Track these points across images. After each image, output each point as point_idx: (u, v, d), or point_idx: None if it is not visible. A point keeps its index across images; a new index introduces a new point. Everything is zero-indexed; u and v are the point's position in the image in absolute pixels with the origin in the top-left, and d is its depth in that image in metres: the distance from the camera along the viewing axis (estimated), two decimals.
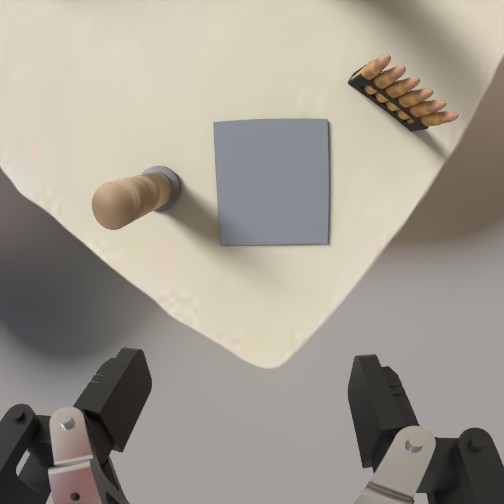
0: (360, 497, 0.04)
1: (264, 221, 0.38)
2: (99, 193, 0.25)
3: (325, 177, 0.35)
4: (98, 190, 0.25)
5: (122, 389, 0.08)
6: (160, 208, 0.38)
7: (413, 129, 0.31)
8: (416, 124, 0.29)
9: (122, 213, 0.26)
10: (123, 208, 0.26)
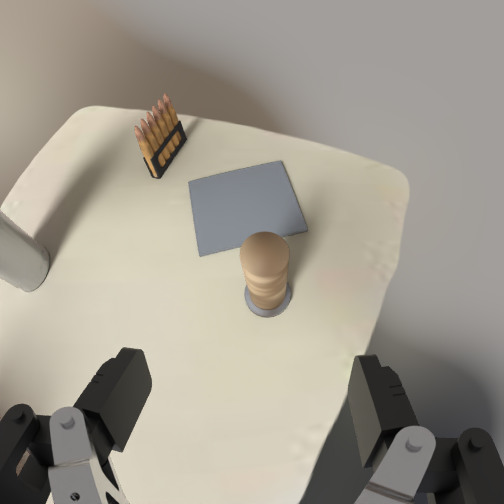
0: (360, 497, 0.04)
1: (276, 201, 0.45)
2: (253, 267, 0.27)
3: (231, 172, 0.48)
4: (250, 269, 0.27)
5: (122, 389, 0.08)
6: (286, 286, 0.39)
7: (184, 135, 0.53)
8: (179, 129, 0.50)
9: (269, 240, 0.28)
10: (264, 239, 0.28)
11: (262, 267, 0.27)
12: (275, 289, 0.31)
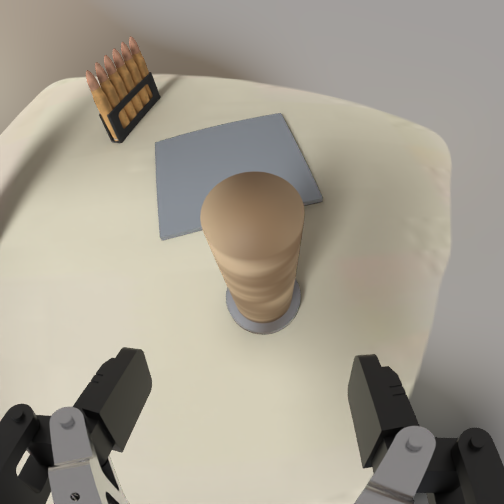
0: (360, 497, 0.04)
1: (275, 161, 0.30)
2: (226, 241, 0.12)
3: (213, 128, 0.34)
4: (220, 244, 0.12)
5: (122, 389, 0.08)
6: (293, 284, 0.24)
7: (157, 92, 0.38)
8: (150, 83, 0.36)
9: (262, 186, 0.14)
10: (251, 185, 0.14)
11: (247, 240, 0.12)
12: (275, 288, 0.16)
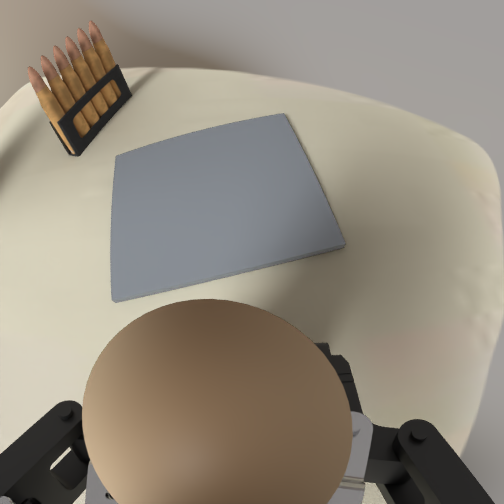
0: None
1: (276, 184, 0.21)
2: (144, 502, 0.03)
3: (191, 135, 0.25)
4: None
5: None
6: None
7: (127, 89, 0.29)
8: (116, 78, 0.27)
9: (235, 356, 0.04)
10: (204, 351, 0.04)
11: None
12: None
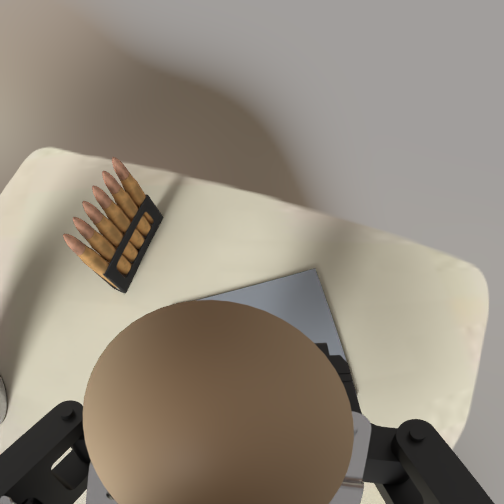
0: None
1: None
2: (145, 503, 0.03)
3: (235, 293, 0.30)
4: None
5: None
6: None
7: (158, 214, 0.35)
8: (148, 209, 0.32)
9: (236, 357, 0.04)
10: (205, 352, 0.04)
11: None
12: None
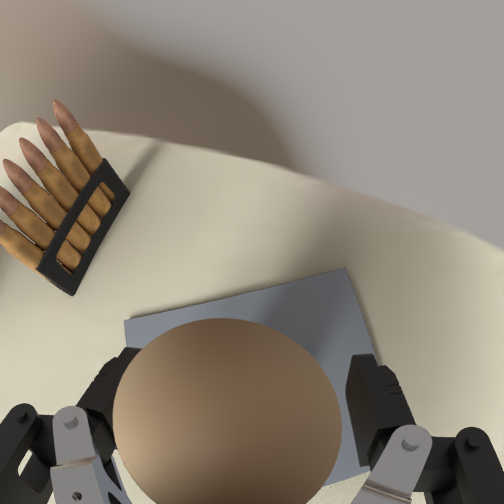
0: (357, 496, 0.04)
1: (338, 396, 0.16)
2: (168, 490, 0.04)
3: (224, 303, 0.19)
4: (156, 493, 0.04)
5: None
6: None
7: (122, 187, 0.24)
8: (106, 178, 0.21)
9: (245, 365, 0.05)
10: (220, 362, 0.05)
11: (210, 495, 0.04)
12: None
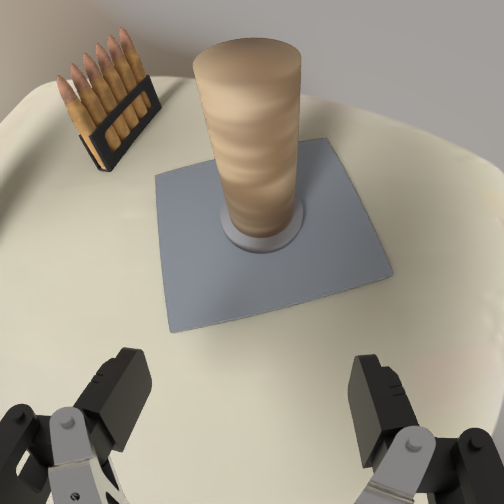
0: (360, 497, 0.04)
1: (328, 214, 0.22)
2: (219, 73, 0.10)
3: None
4: (211, 76, 0.10)
5: (122, 389, 0.08)
6: (294, 199, 0.21)
7: (157, 100, 0.30)
8: (147, 89, 0.27)
9: (257, 44, 0.11)
10: (246, 44, 0.11)
11: (240, 71, 0.10)
12: (273, 156, 0.13)
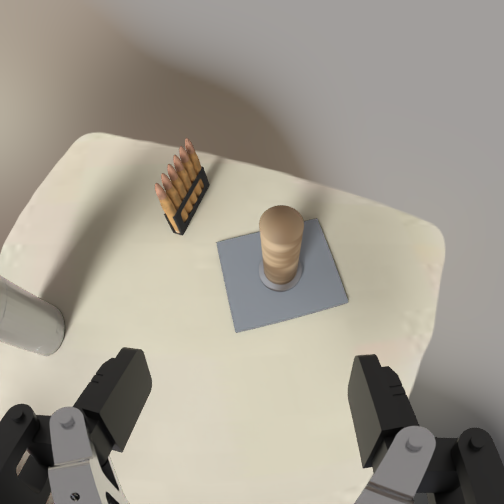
0: (360, 497, 0.04)
1: (315, 269, 0.42)
2: (271, 236, 0.30)
3: None
4: (269, 238, 0.30)
5: (122, 389, 0.08)
6: (297, 262, 0.41)
7: (207, 181, 0.49)
8: (202, 176, 0.47)
9: (285, 212, 0.31)
10: (280, 212, 0.31)
11: (280, 236, 0.30)
12: (290, 259, 0.33)
